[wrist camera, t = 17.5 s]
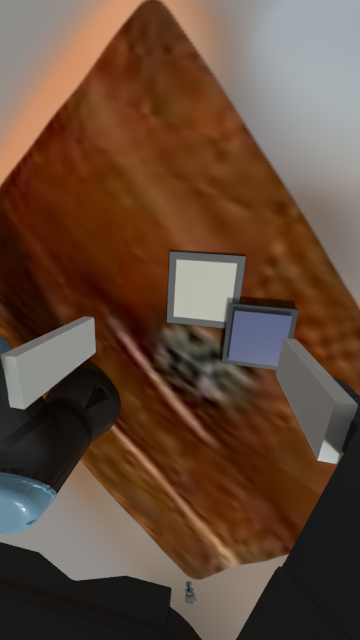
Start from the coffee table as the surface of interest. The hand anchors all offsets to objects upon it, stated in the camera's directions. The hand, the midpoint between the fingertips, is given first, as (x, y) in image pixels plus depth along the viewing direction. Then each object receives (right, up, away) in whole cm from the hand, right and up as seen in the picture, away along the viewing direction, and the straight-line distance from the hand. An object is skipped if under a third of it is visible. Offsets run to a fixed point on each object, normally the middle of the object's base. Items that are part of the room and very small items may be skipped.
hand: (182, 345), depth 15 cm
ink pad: (+13, -1, +24) cm, 27 cm away
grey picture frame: (+4, +7, +23) cm, 24 cm away
